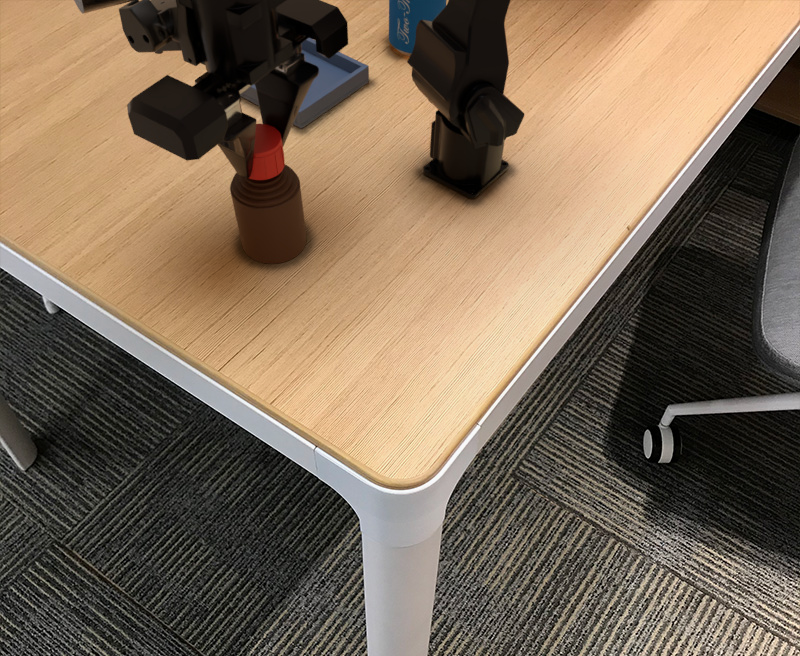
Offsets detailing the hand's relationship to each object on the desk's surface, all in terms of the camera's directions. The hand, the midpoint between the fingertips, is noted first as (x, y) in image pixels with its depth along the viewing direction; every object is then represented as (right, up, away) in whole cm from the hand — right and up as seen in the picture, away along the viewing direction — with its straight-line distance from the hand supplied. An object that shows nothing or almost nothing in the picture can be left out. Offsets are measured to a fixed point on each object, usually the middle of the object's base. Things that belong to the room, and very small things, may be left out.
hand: (260, 163), depth 64 cm
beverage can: (+14, +22, +27) cm, 37 cm away
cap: (0, +1, -2) cm, 2 cm away
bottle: (0, -5, +7) cm, 9 cm away
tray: (0, +16, +22) cm, 27 cm away
